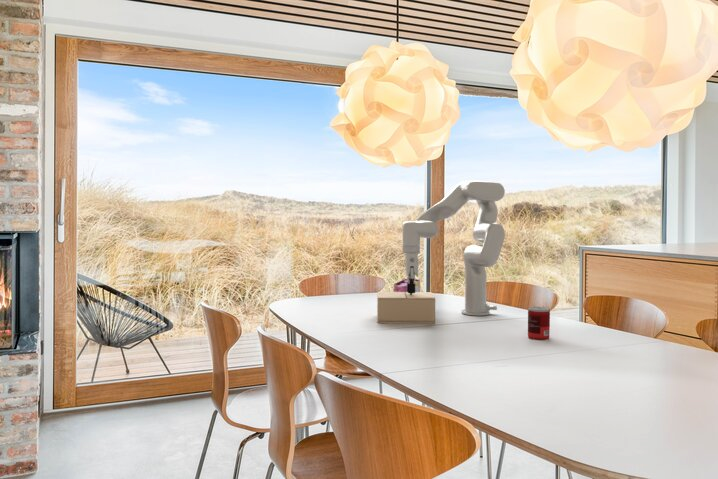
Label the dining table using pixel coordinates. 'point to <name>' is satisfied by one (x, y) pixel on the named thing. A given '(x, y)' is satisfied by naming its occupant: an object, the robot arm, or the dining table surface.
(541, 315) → the canned food
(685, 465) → the dining table surface
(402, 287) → the gum box
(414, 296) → the carton flap
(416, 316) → the carton
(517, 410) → the dining table surface
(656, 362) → the dining table surface
